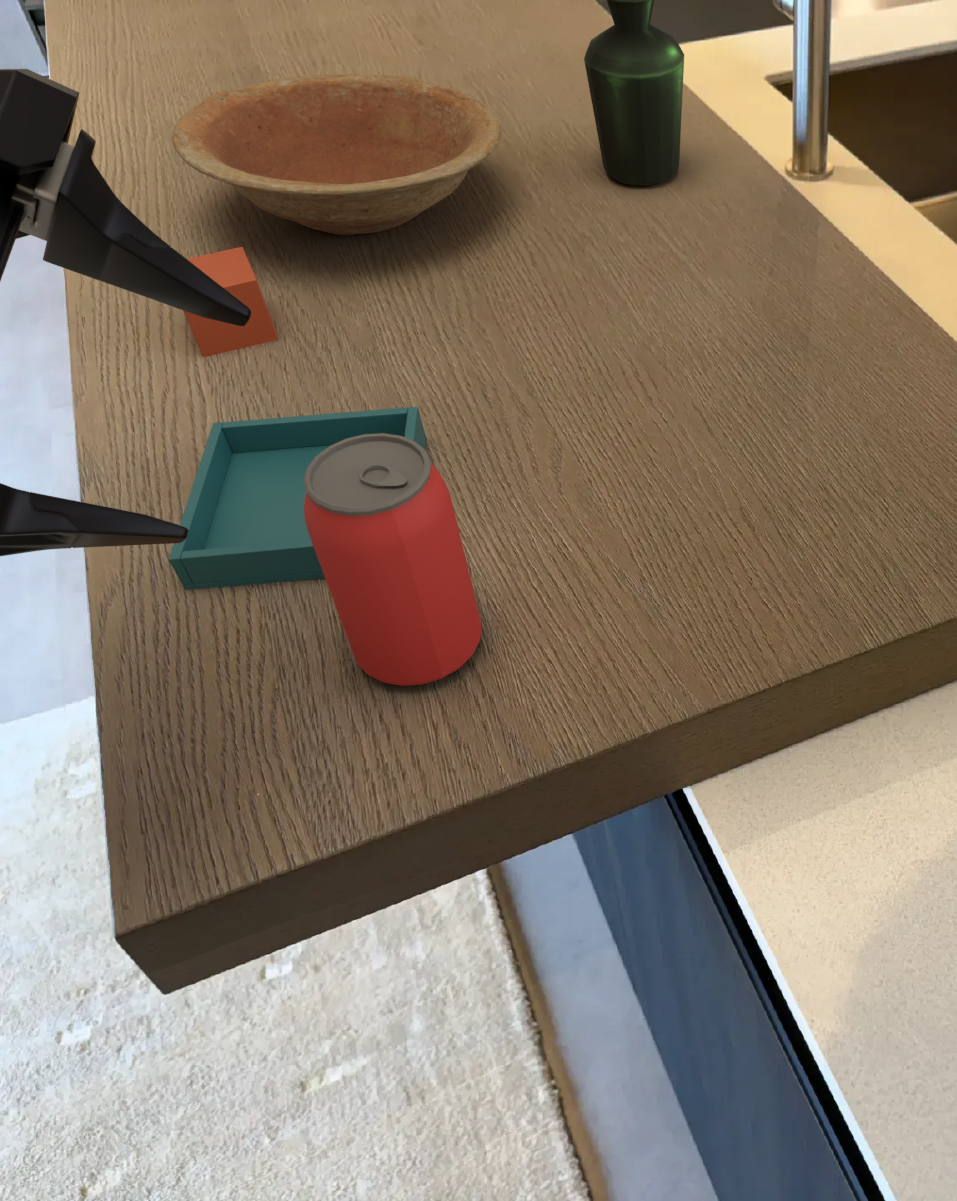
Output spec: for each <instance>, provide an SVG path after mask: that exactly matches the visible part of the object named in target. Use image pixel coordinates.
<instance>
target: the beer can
mask: <svg viewBox="0 0 957 1201" xmlns="http://www.w3.org/2000/svg"><path fill="white" fill-rule="evenodd" d="M303 482H304V486H305V489H306V495H305V502H304V519H305V523H306V526H307V530H308V533H309V536H310V539H311V541H312V544H313V547H314V549H315V552H316V555H317V557H318V560H319V563H320V565H321V568H322V571H323V574H324V576H325V578H324V579H325V582H326V584H327V588H328V589H329V592H330V595H331V598H332V601H333V603H334V606H335V609H336V611H337V614H338V616H339V620H340V622H341V625H342V628H343V630H344V633H345V635H346V637H347V638H346V639H347V641H348V644H349V646H350V649H351V651H352V654H353V657H354V659H355V662H356V664H357V665H358V666H359V667H360V668H361V669H362V671H364V672H365V673H366V674H367V675H368V676H370V677H371V678H374V679H375V680H378V681H380V682H382V683H384V684H389V685H396V686H403V687H409V686H419V685H420V686H421V685H422V686H423V685H426V684H429V683H430V684H431V683H433V682H435V681H439V680H443V679H444V678H446V677H447V676H449V675H451V674H453V673H454V672H456V671H458V670H459V669H461V667H463V666H464V665H465V664H466V662H468V661H469V659H470V658H472V657H473V655H474V653H475V651H476V649H477V647H478V645H479V643H480V641H481V638H482V625H483V624H482V621H481V620H482V619H481V617H480V612H479V609H478V604H477V600H476V596H475V591H474V586H473V583H472V579H471V574H470V570H469V567H468V562H467V557H466V554H465V550H464V545H463V542H462V537H461V534H460V529H459V525H458V520H457V517H456V513H455V512H456V511H455V509H454V504H453V499H452V496H451V493H450V491H449V488H448V486H447V484H446V482H445V480H444V478H443V476H442V474H441V473H440V471H439V470H438V468H436V466H435V465H434V464H433V463H432V461H431V459H430V457H429V454H428V452H427V450H426V448H425V449H423V448H422V447H421V446H420V445H419V444H418V443H417V442H415V441H412V440H410V439H407V438H405V437H403V436H398V435H392V434H385V433H379V434H364V435H359V436H355V437H351V438H347V439H344V440H342V441H340V442H338V443H335V444H333V445H331V446H329V447H328V448H326V449H325V450H324V451H322V452H321V453H320V454H318V455H317V456H316V457H315V458H314V459H313V461H312V462H311V463H310V465H309V466H308V467H307V469H306V472H305V476H304V480H303Z"/></svg>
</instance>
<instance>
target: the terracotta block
mask: <svg viewBox="0 0 957 1201" xmlns="http://www.w3.org/2000/svg"><path fill="white" fill-rule="evenodd" d="M186 259H187V260H188V261H190V262H191V263H192V264H194V265H195V266H196V267H197V268H199V269H200V270H201V271H203V272H204V273H205V274H206V275H208V276H209V277H210V278H211V279H213V280H214V281H215V282H217V283H218V284H219V285H220V286H222V287H223V288H224V289H226V290H227V291H228V292H229V293H231V294H232V295H233V296H234V297H236V298H237V299H238V300H240V301H241V302H242V303H243V304H245V305H246V306H247V307H248V308H249V309H250V310H251V316H250V319H249V321H248V322H247V324H246V325H245V326H237V325H233V324H229V323H225V322H221V321H217V320H212V319H208V318H204V317H201V316H198V315H195V314H192V313H189V312H186V311H184V310H182V311H183V312H182V313H183V314H184V317H185V319H186V321H187V323H188V326H189V328H190V330H191V333H192V335H193V338H194V340H195V342H196V344H197V347H198V349H199V351H200V354H201V356H202V357H203V358H207V357H211V356H214V355H215V356H216V355H218V354H223V353H229V352H232V351H236V350H241V349H244V348H250V347H253V346H258V345H262V344H266V343H270V342H274V341H278V340H279V337H278V334H277V331H276V328H275V325H274V323H273V320H272V318H271V315H270V312H269V309H268V306H267V304H266V302H265V298H264V296H263V292H262V291H261V287H260V286H259V285H260V284H259V283H258V279H257V277H256V275H255V273H254V270H253V268H252V265H251V263H250V260H249V258H248V256H247V254H246V251H245V248H244V247H243V246H239V247H235V248H230V249H226V250H221V251H216V252H212V253H208V254H207V253H206V254H204V255H198V256H193V257H190V258H186Z"/></svg>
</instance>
